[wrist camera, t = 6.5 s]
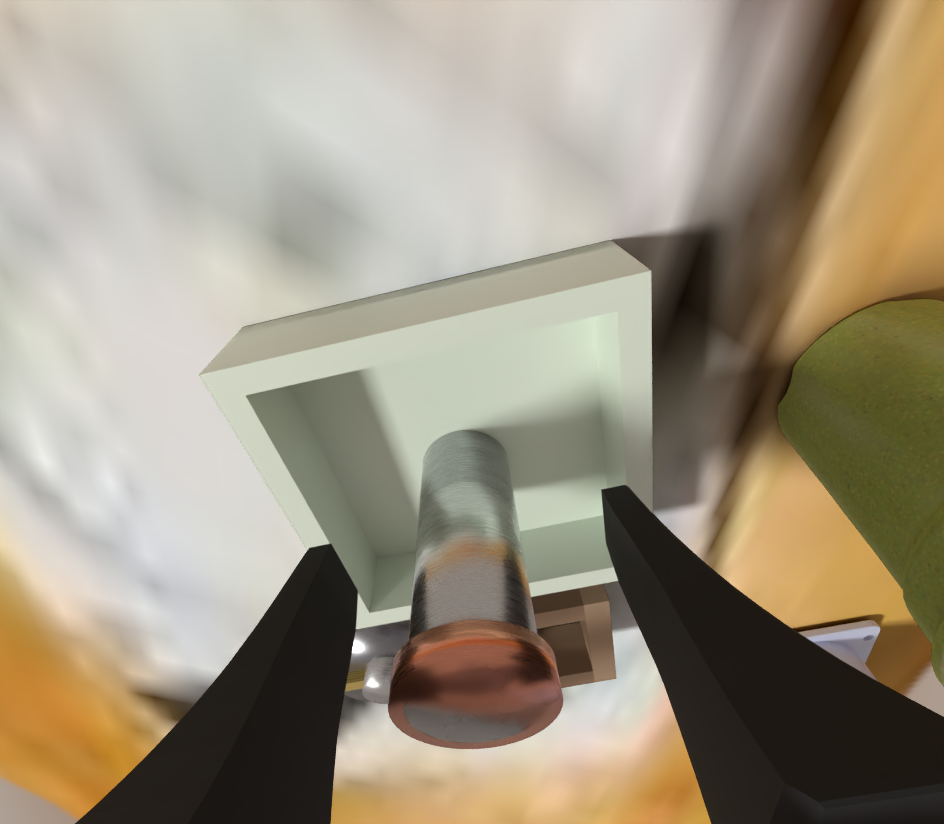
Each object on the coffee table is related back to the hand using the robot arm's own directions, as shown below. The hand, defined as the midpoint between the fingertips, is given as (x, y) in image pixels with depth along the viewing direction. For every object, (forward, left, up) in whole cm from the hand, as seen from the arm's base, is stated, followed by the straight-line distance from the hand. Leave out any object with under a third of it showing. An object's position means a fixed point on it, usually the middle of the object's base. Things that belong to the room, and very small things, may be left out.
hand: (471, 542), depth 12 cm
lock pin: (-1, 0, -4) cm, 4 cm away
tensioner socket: (-10, -1, -5) cm, 12 cm away
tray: (0, 0, -5) cm, 5 cm away
